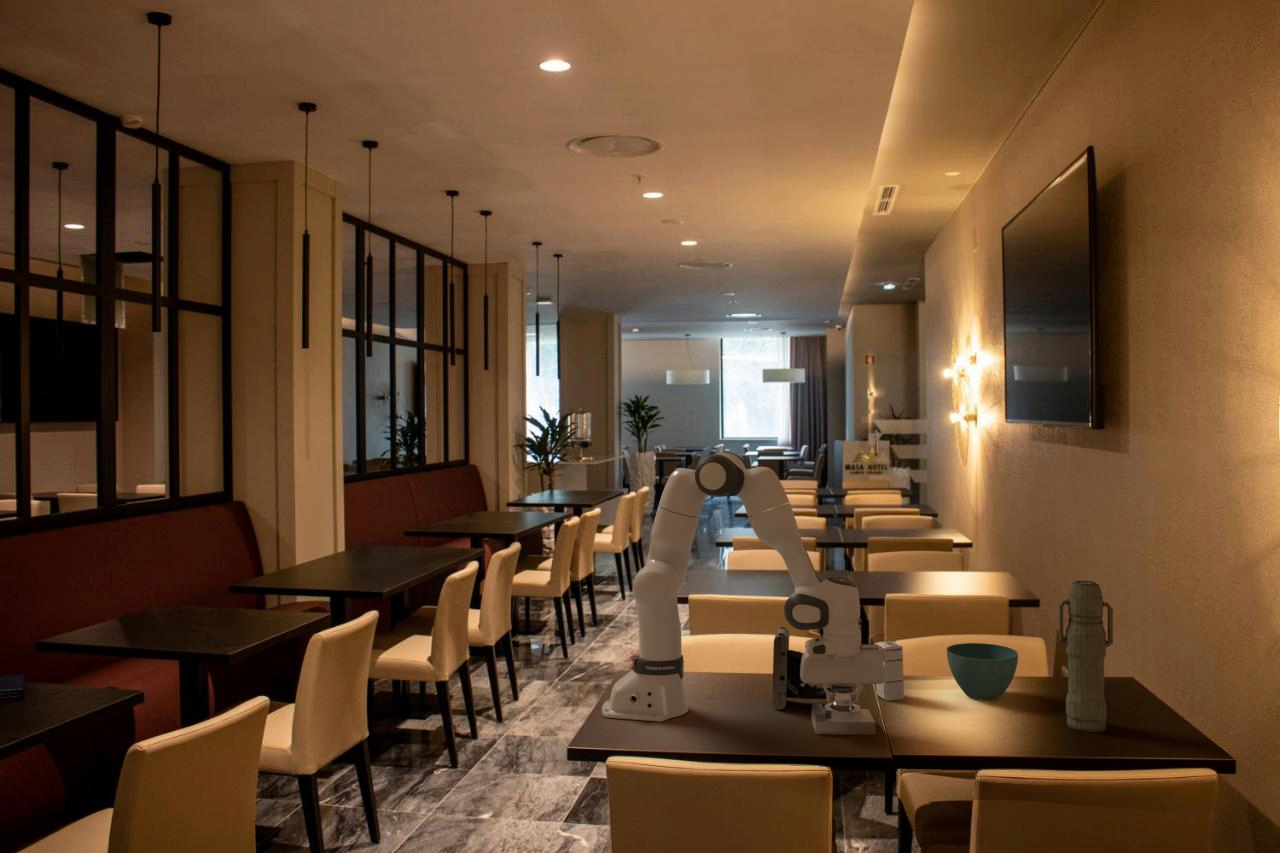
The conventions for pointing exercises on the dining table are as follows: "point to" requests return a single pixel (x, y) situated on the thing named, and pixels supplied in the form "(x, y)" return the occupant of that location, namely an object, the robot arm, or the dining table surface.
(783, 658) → the vintage camera
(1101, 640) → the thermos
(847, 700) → the knob
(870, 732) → the mount
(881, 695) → the syrup box
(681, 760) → the dining table surface
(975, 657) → the teal bowl
